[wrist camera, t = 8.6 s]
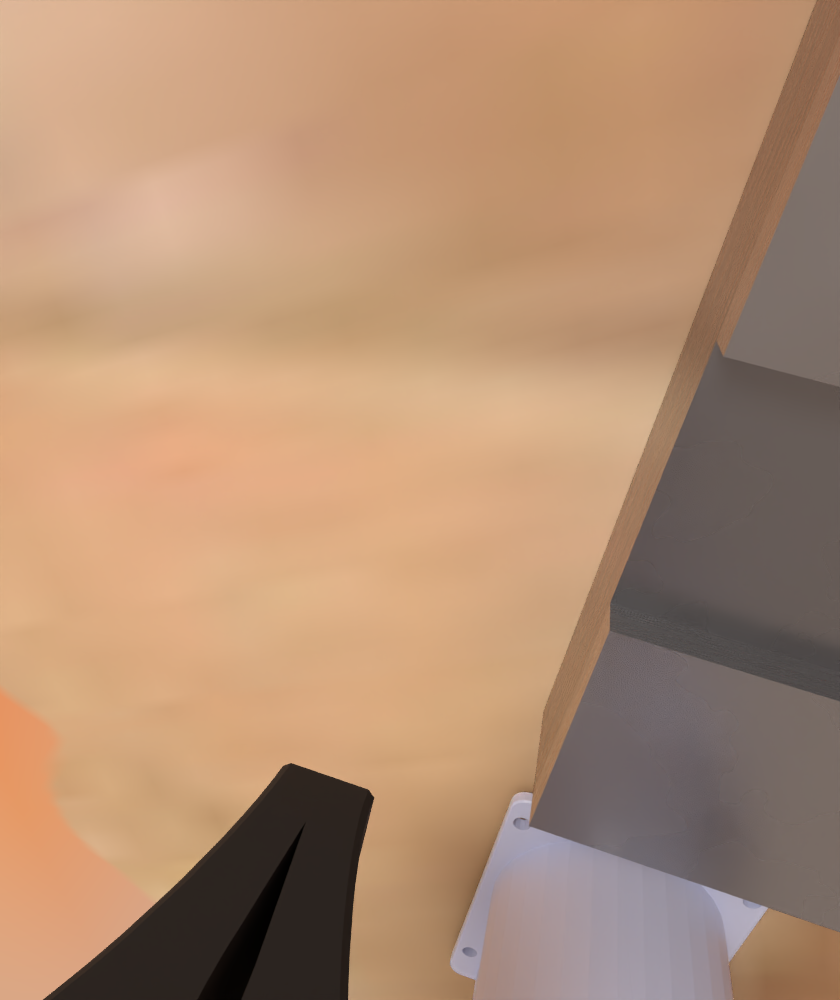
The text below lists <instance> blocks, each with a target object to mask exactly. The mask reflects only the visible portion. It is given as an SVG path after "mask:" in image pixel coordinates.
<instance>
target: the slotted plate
mask: <svg viewBox="0 0 840 1000" xmlns="http://www.w3.org/2000/svg"><path fill="white" fill-rule="evenodd" d="M529 826H530V827H533V828H536V829H539V830H542V831H545V832H548V833H551V834H553V835H556V836H559V837H562V838H565V839H568V840H571V841H574V842H577V843H580V844H583V845H586V846H589V847H592V848H595V849H597V850H600V851H603V852H606V853H609V854H612V855H615V856H618V857H621V858H624V859H627V860H630V861H633V862H636V863H639V864H641V865H644V866H647V867H650V868H653V869H656V870H659V871H662V872H665V873H668V874H671V875H674V876H677V877H680V878H683V879H685V880H688V881H691V882H694V883H697V884H700V885H703V886H706V887H709V888H712V889H715V890H718V891H721V892H724V893H727V894H729V895H732V896H735V897H738V898H741V899H744V900H747V901H750V902H753V903H756V904H759V905H762V906H765V907H768V908H771V909H773V910H776V911H779V912H782V913H785V914H788V915H791V916H794V917H797V918H800V919H803V920H806V921H809V922H812V923H815V924H817V925H820V926H823V927H826V928H829V929H832V930H835V931H838V932H840V0H817V2H816V4H815V7H814V9H813V12H812V15H811V17H810V20H809V22H808V25H807V28H806V30H805V33H804V35H803V38H802V41H801V43H800V46H799V48H798V51H797V54H796V56H795V59H794V61H793V64H792V67H791V69H790V72H789V74H788V77H787V80H786V82H785V85H784V87H783V90H782V93H781V95H780V98H779V100H778V103H777V106H776V108H775V111H774V113H773V116H772V119H771V121H770V124H769V126H768V129H767V132H766V134H765V137H764V139H763V142H762V145H761V147H760V150H759V152H758V155H757V158H756V160H755V163H754V166H753V168H752V171H751V173H750V176H749V179H748V181H747V184H746V186H745V189H744V192H743V194H742V197H741V199H740V202H739V205H738V207H737V210H736V212H735V215H734V218H733V220H732V223H731V225H730V228H729V231H728V233H727V236H726V238H725V241H724V244H723V246H722V249H721V251H720V254H719V257H718V259H717V262H716V264H715V267H714V270H713V272H712V275H711V277H710V280H709V283H708V285H707V288H706V290H705V293H704V296H703V298H702V301H701V303H700V306H699V309H698V311H697V314H696V316H695V319H694V322H693V324H692V327H691V329H690V332H689V335H688V337H687V340H686V342H685V345H684V348H683V350H682V353H681V355H680V358H679V361H678V363H677V366H676V368H675V371H674V374H673V376H672V379H671V381H670V384H669V387H668V389H667V392H666V394H665V397H664V400H663V402H662V405H661V407H660V410H659V413H658V415H657V418H656V420H655V423H654V426H653V428H652V431H651V433H650V436H649V439H648V441H647V444H646V446H645V449H644V452H643V454H642V457H641V459H640V462H639V465H638V467H637V470H636V472H635V475H634V478H633V480H632V483H631V485H630V488H629V491H628V493H627V496H626V498H625V501H624V504H623V506H622V509H621V511H620V514H619V517H618V519H617V522H616V524H615V527H614V530H613V532H612V535H611V537H610V540H609V543H608V545H607V548H606V551H605V553H604V556H603V558H602V561H601V564H600V566H599V569H598V571H597V574H596V577H595V579H594V582H593V584H592V587H591V590H590V592H589V595H588V597H587V600H586V603H585V605H584V608H583V610H582V613H581V616H580V618H579V621H578V623H577V626H576V629H575V631H574V634H573V636H572V639H571V642H570V644H569V647H568V649H567V652H566V655H565V657H564V660H563V662H562V665H561V668H560V670H559V673H558V675H557V678H556V681H555V683H554V686H553V688H552V691H551V694H550V696H549V699H548V701H547V704H546V707H545V709H544V712H543V720H542V728H541V736H540V743H539V751H538V759H537V767H536V774H535V782H534V790H533V797H532V805H531V813H530V821H529Z"/></svg>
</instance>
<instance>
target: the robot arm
mask: <svg viewBox="0 0 840 1000" xmlns="http://www.w3.org/2000/svg"><path fill="white" fill-rule="evenodd" d="M532 797H533V793H528V792H520V793H517V794H515V795H514V796H513V797H512V799H511V801H510V804H509V807H508V809H507V812H506V814H505V817H504V819H503V822H502V825H501V827H500V830H499V832H498V835H497V838H496V840H495V843H494V845H493V848H492V851H491V853H490V856H489V858H488V861H487V864H486V866H485V869H484V871H483V874H482V877H481V879H480V882H479V884H478V887H477V889H476V892H475V895H474V897H473V900H472V902H471V905H470V908H469V910H468V913H467V915H466V918H465V921H464V923H463V926H462V928H461V931H460V934H459V936H458V939H457V941H456V944H455V946H454V949H453V952H452V955H451V960H450V966H451V967H452V969H453V970H454V971H455V972H456V973H458V974H460V975H463V976H466V977H468V978H471V979H474V980H476V981H475V987H474V993H473V999H472V1000H734V999H733V991H732V983H731V975H730V968H729V962H730V961H731V959H732V958H733V957H734V955H735V954H736V952H737V951H738V950H739V948H740V947H741V945H742V944H743V943H744V941H745V940H746V939H747V937H748V936H749V934H750V933H751V932H752V930H753V929H754V927H755V926H756V925H757V923H758V922H759V920H760V919H761V918H762V916H763V915H764V913H765V912H766V911H767V909H768V907H765V906H762V905H759V904H756V903H753V902H750V901H747V900H744V899H741V898H738V897H735V896H732V895H729V894H727V893H724V892H721V891H718V890H715V889H712V888H709V887H706V886H703V885H700V884H697V883H694V882H691V881H688V880H685V879H683V878H680V877H677V876H674V875H671V874H668V873H665V872H662V871H659V870H656V869H653V868H650V867H647V866H644V865H641V864H639V863H636V862H633V861H630V860H627V859H624V858H621V857H618V856H615V855H612V854H609V853H606V852H603V851H600V850H597V849H595V848H592V847H589V846H586V845H583V844H580V843H577V842H574V841H571V840H568V839H565V838H562V837H559V836H556V835H553V834H551V833H548V832H545V831H542V830H539V829H536V828H533V827H530V826H529V821H530V813H531V805H532ZM373 800H374V797H373V795H372V794H371V793H370V791H369V790H368V789H365V788H362V787H359V786H356V785H353V784H350V783H347V782H344V781H342V780H339V779H336V778H333V777H330V776H327V775H324V774H321V773H318V772H315V771H312V770H310V769H307V768H304V767H301V766H298V765H295V764H292V763H290V764H287V765H285V766H283V767H282V768H281V770H280V771H279V772H278V774H277V775H276V776H275V778H274V779H273V780H272V781H271V783H270V784H269V785H268V786H267V788H266V789H265V790H264V791H263V792H262V794H261V795H260V796H259V797H258V799H257V800H256V801H255V802H254V803H253V804H252V806H251V807H250V808H249V809H248V810H247V811H246V812H245V814H244V815H243V816H242V817H241V818H240V819H239V820H238V821H237V822H236V823H235V825H234V826H233V827H232V828H231V829H230V830H229V831H228V832H227V833H226V834H225V835H224V837H223V838H222V839H221V840H220V841H219V842H218V843H217V844H216V845H215V846H214V847H213V848H212V849H211V850H210V851H209V852H208V853H207V854H206V855H205V856H204V857H203V858H202V859H201V860H200V861H199V862H198V863H197V864H196V865H195V866H194V867H193V868H192V869H191V870H190V871H189V872H188V873H187V874H186V875H185V876H184V877H183V878H182V879H181V880H180V881H179V882H178V883H177V884H176V885H175V886H174V887H173V888H172V889H171V890H170V891H169V892H168V893H166V894H165V895H164V896H163V897H162V898H161V899H160V900H159V901H158V902H157V903H156V904H155V905H154V906H152V907H151V908H150V909H149V910H148V911H147V912H146V913H145V914H144V915H143V916H142V917H140V918H139V919H138V920H137V921H136V922H135V923H134V924H133V925H132V926H131V927H130V928H128V929H127V930H126V931H125V932H124V933H123V934H122V935H121V936H120V937H118V938H117V939H116V940H115V941H114V942H113V943H111V944H110V945H109V946H108V947H107V948H106V949H104V950H103V951H102V952H101V953H100V954H99V955H97V956H96V957H95V958H94V959H93V960H91V962H89V963H88V964H87V965H85V966H84V967H83V968H82V969H81V970H79V971H78V972H77V973H76V974H74V975H73V976H72V977H71V978H69V979H68V980H67V981H66V982H65V983H63V984H62V985H61V986H60V987H58V988H57V989H56V990H55V991H53V992H52V993H51V994H50V995H48V996H47V997H46V998H45V999H43V1000H348V980H349V955H350V941H351V927H352V913H353V901H354V891H355V883H356V876H357V868H358V861H359V856H360V852H361V848H362V844H363V840H364V836H365V832H366V828H367V824H368V820H369V816H370V812H371V808H372V804H373ZM520 818H525V819H526V820H524V819H520Z"/></svg>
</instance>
